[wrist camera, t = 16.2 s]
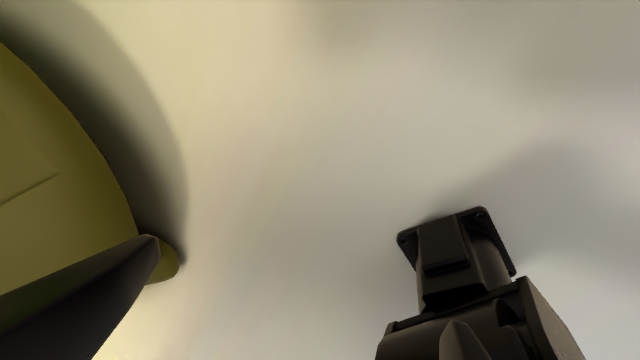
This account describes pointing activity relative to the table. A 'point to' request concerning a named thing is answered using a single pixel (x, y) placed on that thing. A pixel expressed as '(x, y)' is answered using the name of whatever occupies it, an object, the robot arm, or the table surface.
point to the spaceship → (54, 186)
